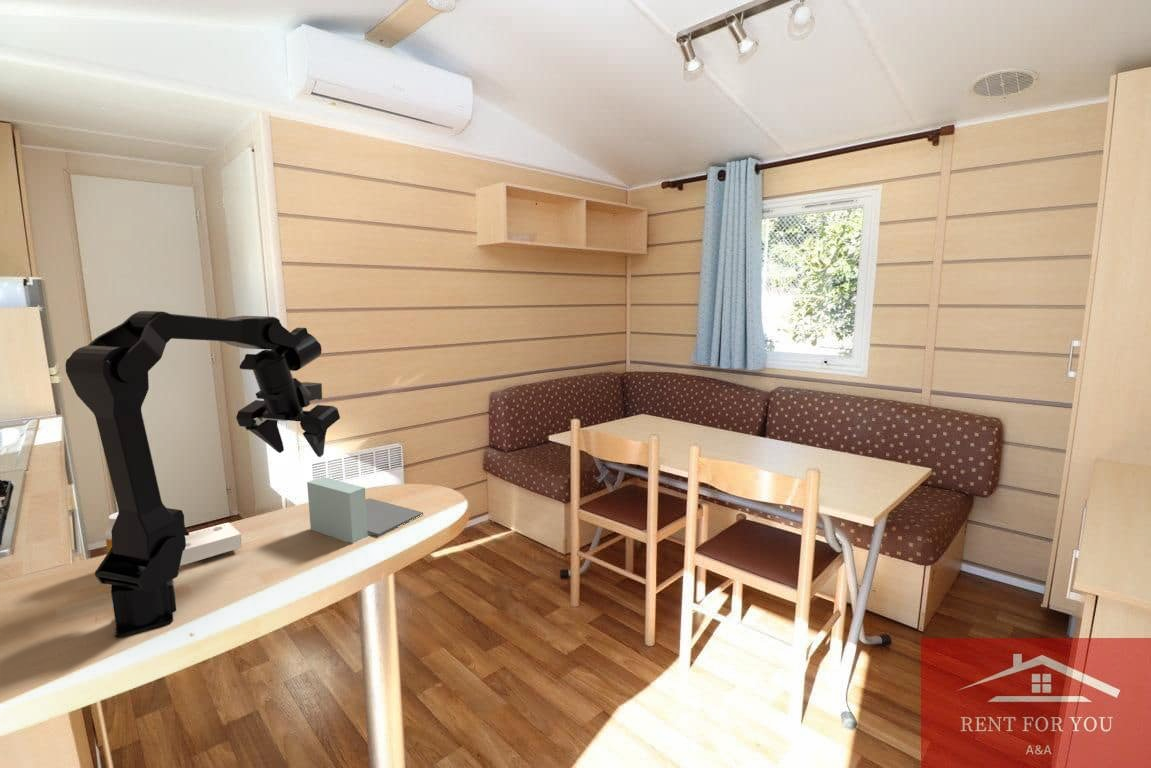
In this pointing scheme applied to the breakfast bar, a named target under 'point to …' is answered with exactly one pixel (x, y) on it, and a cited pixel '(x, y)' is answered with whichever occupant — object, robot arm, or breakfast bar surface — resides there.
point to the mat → (386, 516)
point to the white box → (210, 542)
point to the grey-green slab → (337, 509)
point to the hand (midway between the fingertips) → (301, 453)
